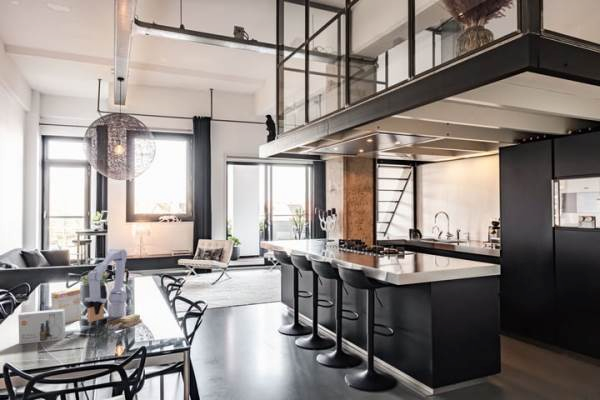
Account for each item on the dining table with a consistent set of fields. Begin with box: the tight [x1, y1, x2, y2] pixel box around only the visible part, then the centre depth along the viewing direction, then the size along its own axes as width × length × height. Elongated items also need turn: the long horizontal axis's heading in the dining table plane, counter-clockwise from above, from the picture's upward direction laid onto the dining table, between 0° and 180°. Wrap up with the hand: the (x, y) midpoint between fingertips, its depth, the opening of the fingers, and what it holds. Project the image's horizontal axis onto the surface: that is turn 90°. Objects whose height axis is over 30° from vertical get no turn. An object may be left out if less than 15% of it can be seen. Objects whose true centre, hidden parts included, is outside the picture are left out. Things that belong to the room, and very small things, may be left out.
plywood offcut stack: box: [119, 313, 143, 328], centre depth 245 cm, size 7×11×4 cm, turn 160°
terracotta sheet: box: [86, 303, 105, 323], centre depth 244 cm, size 2×10×8 cm, turn 160°
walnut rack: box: [105, 317, 143, 328], centre depth 247 cm, size 19×12×2 cm, turn 70°
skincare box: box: [18, 309, 66, 345], centre depth 222 cm, size 21×6×16 cm, turn 106°
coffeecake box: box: [50, 288, 82, 325], centre depth 259 cm, size 15×7×20 cm, turn 149°
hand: (95, 314), depth 244 cm, fingers closed on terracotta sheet, 2 cm apart
